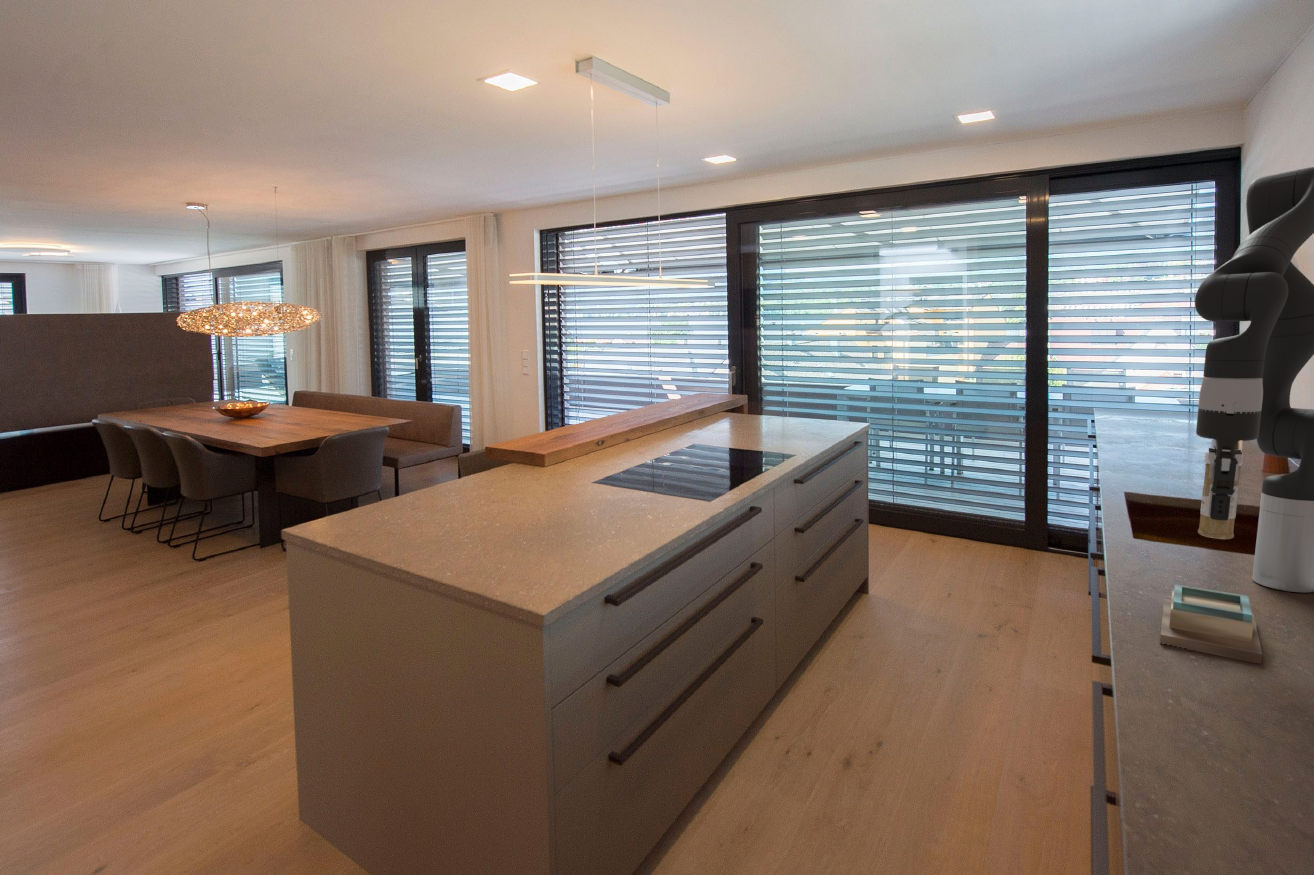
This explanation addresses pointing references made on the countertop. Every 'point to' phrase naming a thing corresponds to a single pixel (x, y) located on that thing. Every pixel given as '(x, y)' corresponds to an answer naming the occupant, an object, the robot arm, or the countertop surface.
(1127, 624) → the countertop surface
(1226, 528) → the sprinkles bottle
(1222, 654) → the build board
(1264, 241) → the robot arm
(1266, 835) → the countertop surface
